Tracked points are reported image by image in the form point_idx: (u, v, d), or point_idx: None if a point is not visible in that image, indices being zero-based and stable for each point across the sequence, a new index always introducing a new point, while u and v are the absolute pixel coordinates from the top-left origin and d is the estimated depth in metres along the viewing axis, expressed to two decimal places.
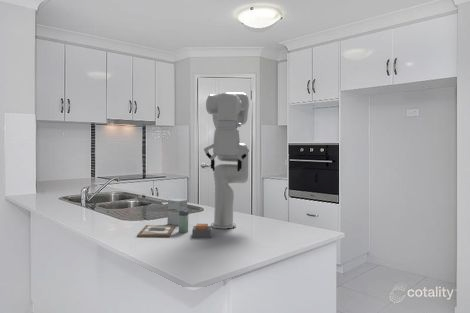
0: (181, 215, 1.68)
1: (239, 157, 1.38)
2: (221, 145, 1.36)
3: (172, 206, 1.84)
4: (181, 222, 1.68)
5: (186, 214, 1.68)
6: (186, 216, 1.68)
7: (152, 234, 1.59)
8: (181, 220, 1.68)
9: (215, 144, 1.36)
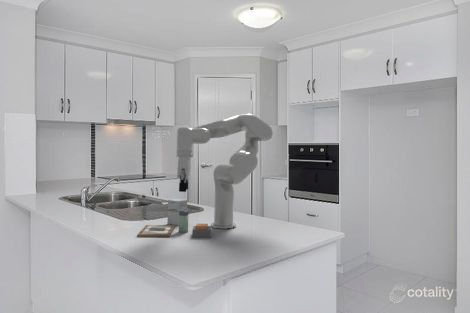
0: (181, 215, 1.68)
1: (187, 178, 1.74)
2: (188, 170, 1.67)
3: (172, 206, 1.84)
4: (181, 222, 1.68)
5: (186, 214, 1.68)
6: (186, 216, 1.68)
7: (152, 234, 1.59)
8: (181, 220, 1.68)
9: (188, 169, 1.65)
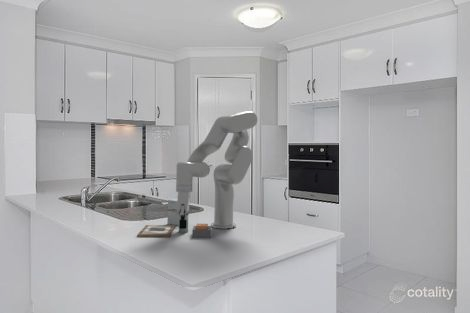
0: None
1: None
2: (188, 205, 1.68)
3: (172, 206, 1.84)
4: None
5: (186, 214, 1.68)
6: (186, 216, 1.68)
7: (152, 234, 1.59)
8: None
9: (187, 205, 1.66)
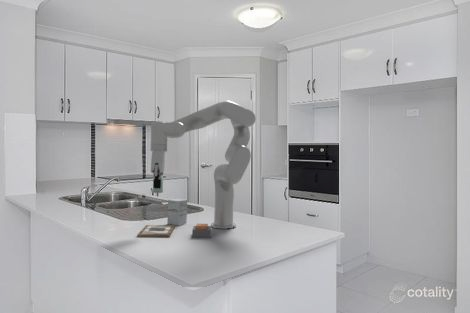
0: None
1: None
2: (162, 164, 1.66)
3: (172, 206, 1.84)
4: None
5: (160, 174, 1.66)
6: (160, 176, 1.66)
7: (152, 234, 1.59)
8: None
9: (161, 164, 1.64)
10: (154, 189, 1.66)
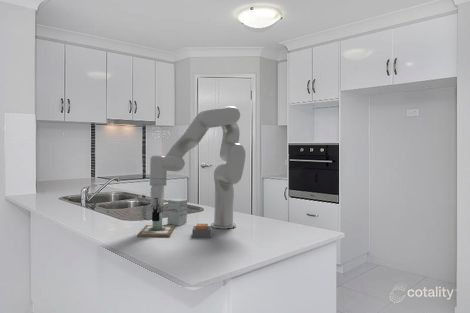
0: None
1: (162, 206, 1.73)
2: (162, 198, 1.66)
3: (172, 206, 1.84)
4: None
5: (160, 211, 1.67)
6: (160, 213, 1.67)
7: (152, 234, 1.59)
8: None
9: (160, 198, 1.64)
10: (153, 226, 1.67)
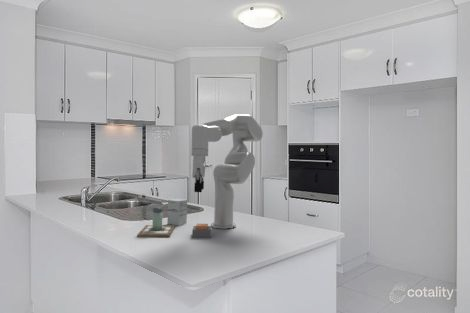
0: (155, 212, 1.66)
1: None
2: (204, 169, 1.61)
3: (172, 206, 1.84)
4: (155, 220, 1.66)
5: (160, 211, 1.67)
6: (160, 213, 1.67)
7: (152, 234, 1.59)
8: (155, 217, 1.66)
9: (203, 169, 1.59)
10: (153, 226, 1.67)
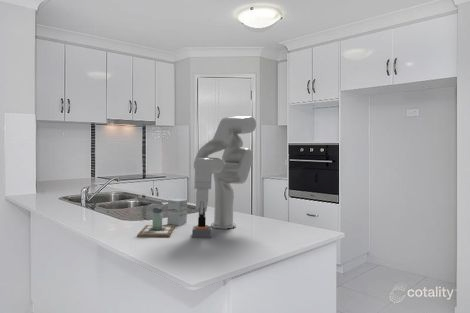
0: (155, 212, 1.66)
1: None
2: (207, 202, 1.61)
3: (172, 206, 1.84)
4: (155, 220, 1.66)
5: (160, 211, 1.67)
6: (160, 213, 1.67)
7: (152, 234, 1.59)
8: (155, 217, 1.66)
9: (206, 202, 1.59)
10: (153, 226, 1.67)
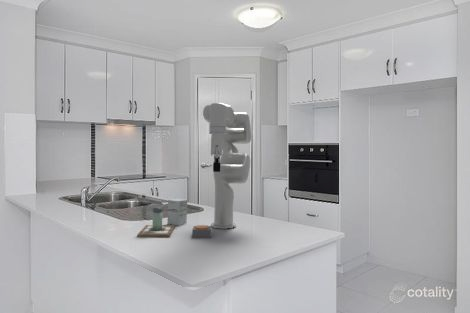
0: (155, 212, 1.66)
1: None
2: (222, 147, 1.61)
3: (172, 206, 1.84)
4: (155, 220, 1.66)
5: (160, 211, 1.67)
6: (160, 213, 1.67)
7: (152, 234, 1.59)
8: (155, 217, 1.66)
9: (221, 146, 1.59)
10: (153, 226, 1.67)
